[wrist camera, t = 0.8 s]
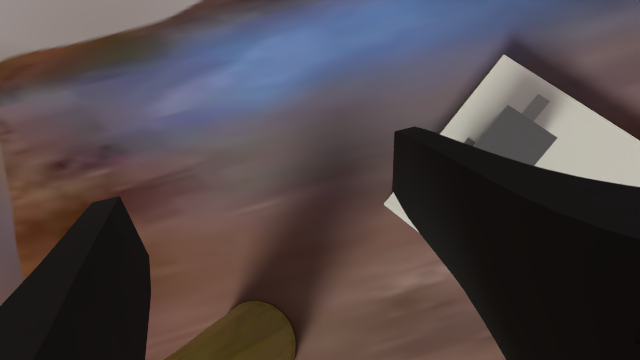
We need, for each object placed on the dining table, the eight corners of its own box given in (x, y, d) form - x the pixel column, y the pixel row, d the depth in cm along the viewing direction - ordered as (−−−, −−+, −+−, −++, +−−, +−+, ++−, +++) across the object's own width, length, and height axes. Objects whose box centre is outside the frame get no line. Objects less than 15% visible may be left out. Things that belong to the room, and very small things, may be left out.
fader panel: (799, 260, 22) (840, 266, 20) (652, 414, 23) (675, 435, 21) (496, 65, 26) (504, 53, 24) (385, 204, 27) (383, 204, 25)
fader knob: (539, 145, 23) (557, 137, 20) (484, 211, 23) (494, 212, 21) (495, 116, 24) (508, 104, 21) (443, 180, 24) (448, 178, 21)
